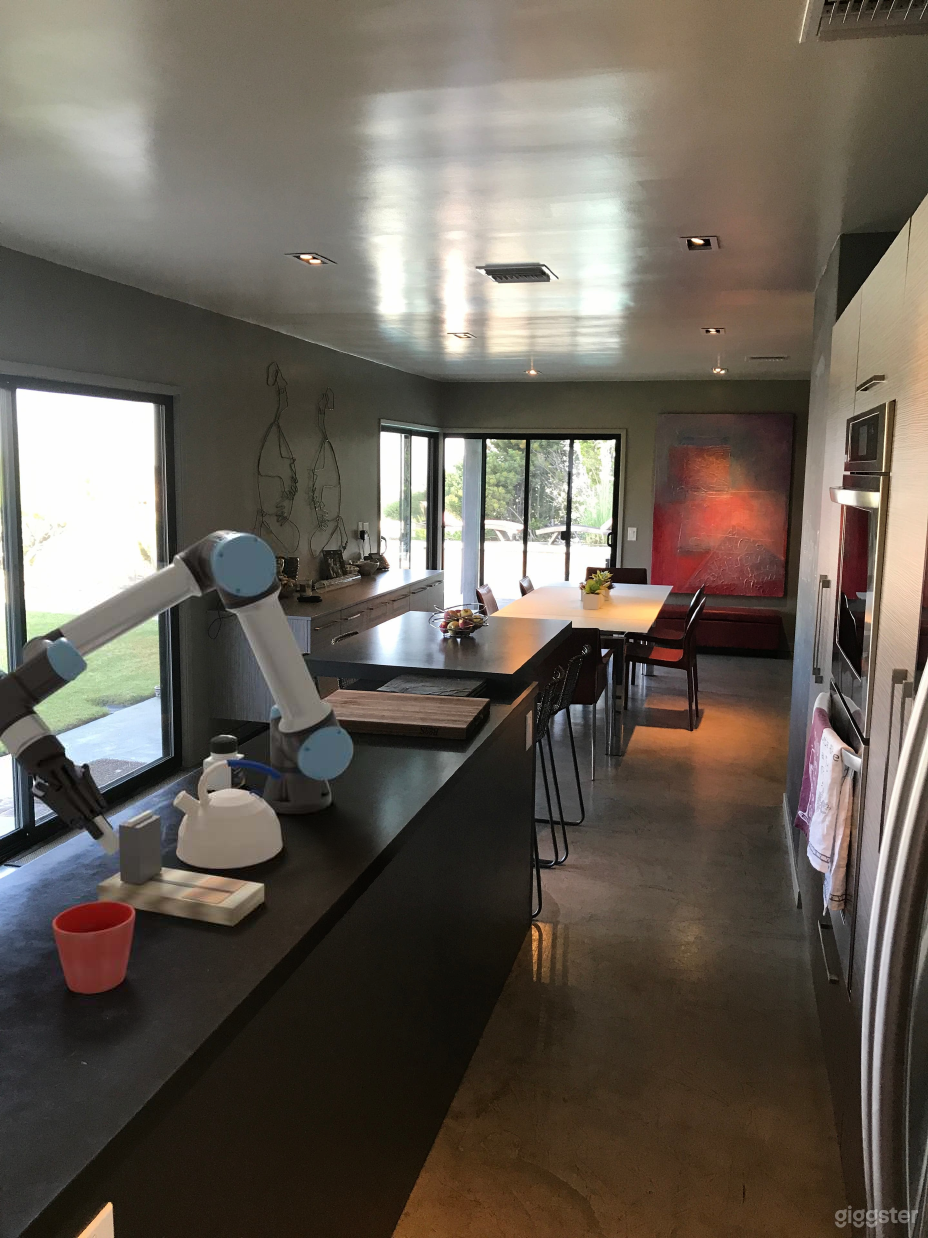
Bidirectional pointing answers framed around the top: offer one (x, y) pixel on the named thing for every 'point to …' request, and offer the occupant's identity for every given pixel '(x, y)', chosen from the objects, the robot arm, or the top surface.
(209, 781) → the medicine bottle
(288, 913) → the top surface
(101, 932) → the flower pot
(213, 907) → the fader console
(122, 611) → the robot arm
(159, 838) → the fader knob
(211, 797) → the kettle
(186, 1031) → the top surface
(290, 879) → the top surface
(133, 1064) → the top surface
